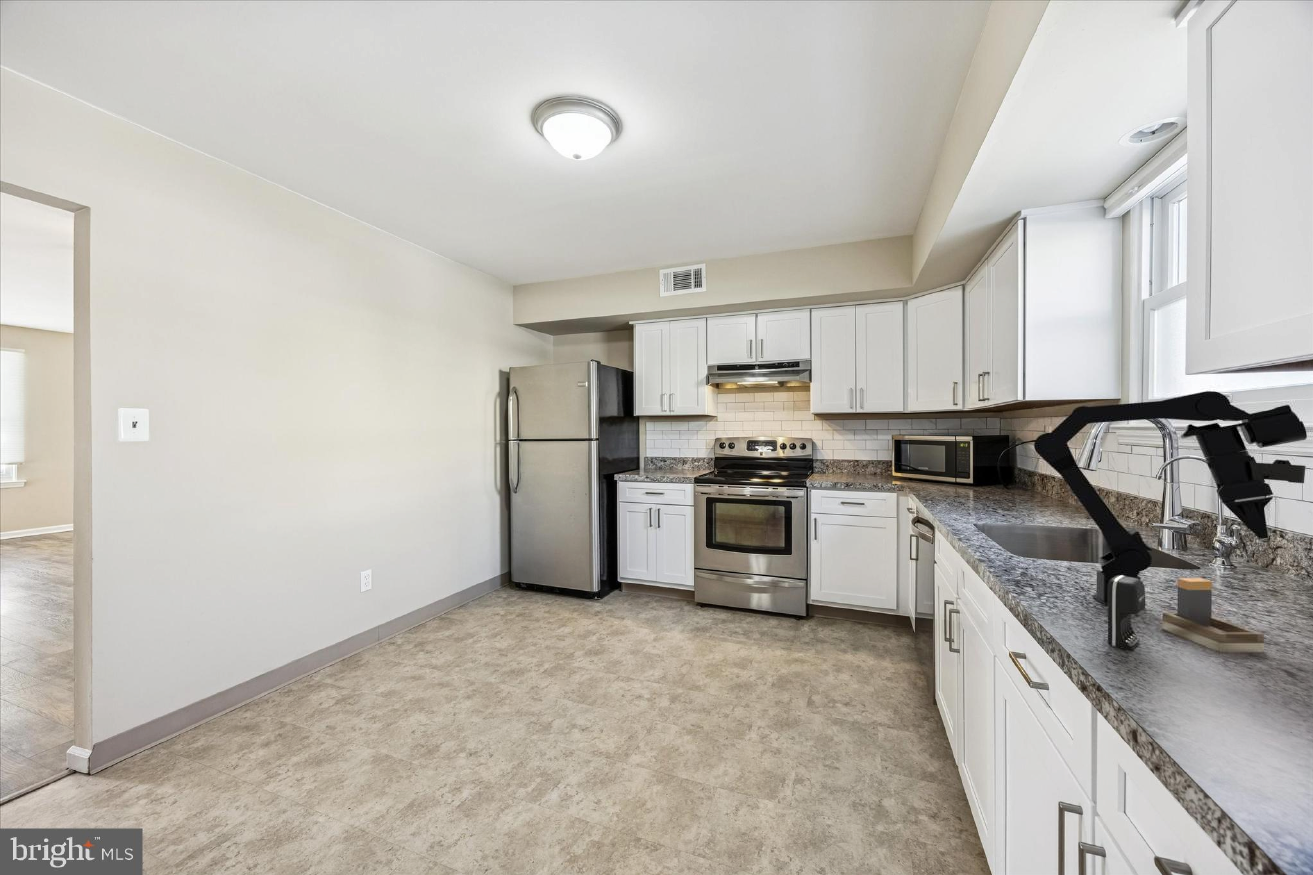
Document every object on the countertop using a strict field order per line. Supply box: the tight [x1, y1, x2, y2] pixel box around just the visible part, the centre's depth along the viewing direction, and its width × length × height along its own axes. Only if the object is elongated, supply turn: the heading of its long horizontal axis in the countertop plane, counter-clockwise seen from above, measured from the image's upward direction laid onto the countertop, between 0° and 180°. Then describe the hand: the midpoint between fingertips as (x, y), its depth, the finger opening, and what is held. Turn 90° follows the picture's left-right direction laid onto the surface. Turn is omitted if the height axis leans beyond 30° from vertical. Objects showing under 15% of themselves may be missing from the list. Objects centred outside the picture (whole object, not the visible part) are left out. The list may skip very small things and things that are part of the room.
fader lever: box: [1176, 577, 1213, 626], centre depth 93 cm, size 2×4×8 cm, turn 89°
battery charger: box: [1107, 575, 1146, 650], centre depth 89 cm, size 7×4×11 cm, turn 126°
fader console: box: [1162, 612, 1265, 653], centre depth 91 cm, size 10×7×3 cm
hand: (1261, 536), depth 95 cm, fingers open, 9 cm apart
